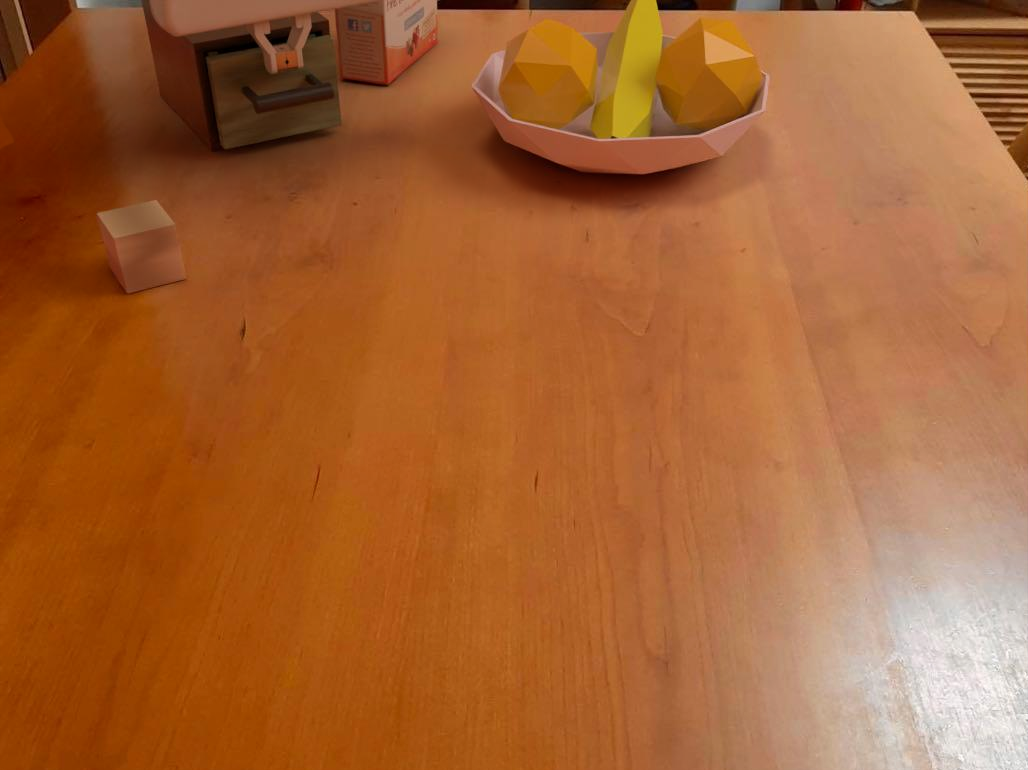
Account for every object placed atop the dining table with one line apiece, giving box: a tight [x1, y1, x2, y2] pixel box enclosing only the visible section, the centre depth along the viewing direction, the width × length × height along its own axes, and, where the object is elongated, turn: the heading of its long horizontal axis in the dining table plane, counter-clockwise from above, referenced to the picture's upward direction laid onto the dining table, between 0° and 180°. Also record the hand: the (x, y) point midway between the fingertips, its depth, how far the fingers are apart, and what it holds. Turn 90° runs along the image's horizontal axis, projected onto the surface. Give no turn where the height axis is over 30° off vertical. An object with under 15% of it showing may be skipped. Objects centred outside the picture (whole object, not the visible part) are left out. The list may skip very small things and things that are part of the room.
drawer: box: [204, 32, 342, 150], centre depth 107 cm, size 19×11×8 cm, turn 30°
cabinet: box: [141, 0, 331, 152], centre depth 110 cm, size 16×13×10 cm
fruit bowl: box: [470, 0, 771, 175], centre depth 105 cm, size 28×27×11 cm
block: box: [96, 199, 187, 295], centre depth 88 cm, size 5×5×5 cm
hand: (284, 69), depth 101 cm, fingers closed
